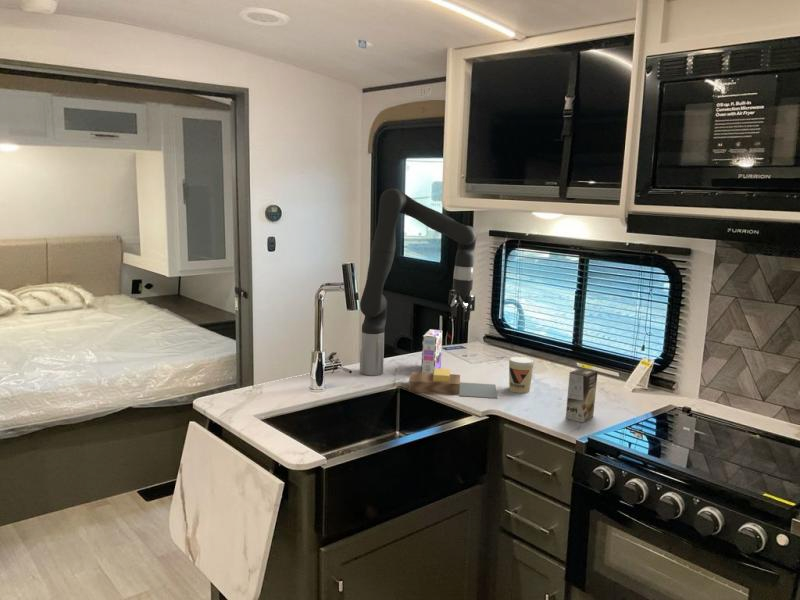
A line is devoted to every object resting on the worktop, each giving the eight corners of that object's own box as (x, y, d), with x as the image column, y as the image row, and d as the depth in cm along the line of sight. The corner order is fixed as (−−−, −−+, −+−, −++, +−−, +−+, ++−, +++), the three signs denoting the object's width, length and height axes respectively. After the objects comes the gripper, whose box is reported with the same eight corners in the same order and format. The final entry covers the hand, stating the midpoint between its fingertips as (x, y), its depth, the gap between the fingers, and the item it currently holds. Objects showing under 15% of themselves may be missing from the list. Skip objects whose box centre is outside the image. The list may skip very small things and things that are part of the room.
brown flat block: (408, 391, 231) (408, 381, 231) (411, 381, 243) (411, 371, 242) (459, 394, 229) (459, 384, 229) (459, 384, 241) (460, 374, 240)
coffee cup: (503, 391, 235) (505, 360, 233) (511, 384, 243) (513, 355, 241) (527, 395, 231) (530, 364, 229) (534, 388, 239) (536, 358, 237)
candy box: (434, 375, 252) (436, 336, 249) (420, 374, 253) (422, 335, 250) (441, 367, 265) (442, 329, 262) (428, 365, 266) (429, 328, 263)
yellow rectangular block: (433, 381, 231) (433, 374, 231) (434, 374, 240) (434, 368, 240) (449, 382, 231) (449, 375, 230) (449, 375, 239) (450, 369, 239)
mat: (459, 396, 227) (459, 395, 227) (459, 383, 243) (459, 382, 243) (497, 398, 226) (497, 397, 226) (495, 385, 242) (495, 384, 242)
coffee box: (583, 423, 204) (587, 376, 202) (565, 418, 208) (568, 372, 206) (594, 416, 211) (598, 370, 209) (576, 411, 215) (580, 367, 213)
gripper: (444, 275, 242) (441, 315, 245) (466, 281, 230) (462, 323, 233) (460, 274, 246) (457, 314, 249) (482, 280, 234) (478, 322, 237)
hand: (460, 318), depth 241 cm, fingers open, 8 cm apart
